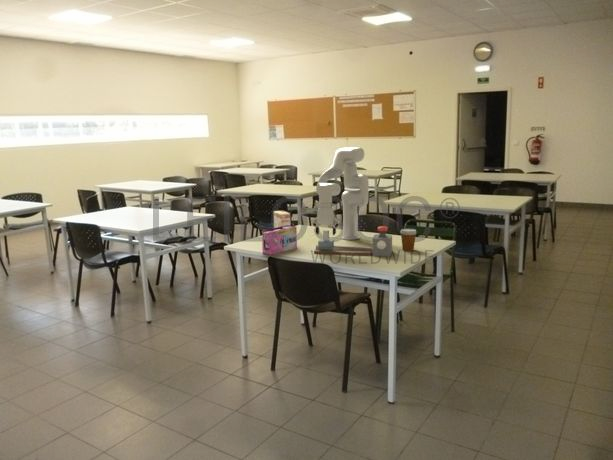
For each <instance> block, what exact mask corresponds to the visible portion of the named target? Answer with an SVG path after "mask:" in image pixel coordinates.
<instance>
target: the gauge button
mask: <svg viewBox="0 0 613 460" xmlns="http://www.w3.org/2000/svg"><path fill="white" fill-rule="evenodd" d="M388 229H389V228H388V226H386V225H385V226H383V225H381V226H377V232H378V235H379V237H384V238H386V235H387V232H388Z"/></svg>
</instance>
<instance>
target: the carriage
mask: <svg viewBox="0 0 613 460" xmlns="http://www.w3.org/2000/svg"><path fill="white" fill-rule="evenodd" d="M317 245H318V246H319V249H322V250H332V246H335V239H330V230H329V229H322V238H320V239H319V240H318V242H317Z"/></svg>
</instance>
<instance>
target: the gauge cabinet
mask: <svg viewBox="0 0 613 460" xmlns="http://www.w3.org/2000/svg"><path fill="white" fill-rule="evenodd" d="M372 248H373V252H372V256H373V257H391V256H392V253H393V234H386V238H384V237H379V233H378V234H377V233H376V234H374V235H373V237H372Z"/></svg>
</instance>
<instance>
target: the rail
mask: <svg viewBox="0 0 613 460" xmlns="http://www.w3.org/2000/svg"><path fill="white" fill-rule="evenodd" d="M313 254H315V255H316V254H317V255H339V254H347V255H346V256H372V255H373V246H353V245H352V246H351V245H349V246H348V245H334V246H332V250H322V249H319V246H318V244H317V245H315V249H314V251H313Z"/></svg>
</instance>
